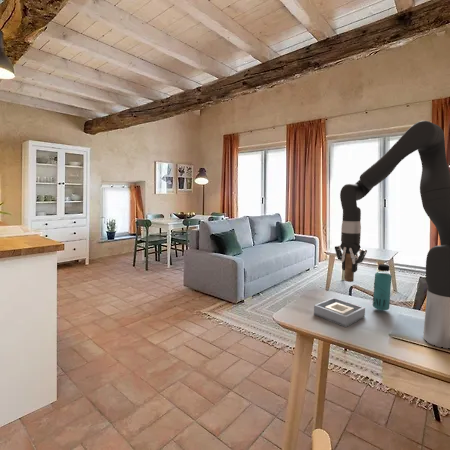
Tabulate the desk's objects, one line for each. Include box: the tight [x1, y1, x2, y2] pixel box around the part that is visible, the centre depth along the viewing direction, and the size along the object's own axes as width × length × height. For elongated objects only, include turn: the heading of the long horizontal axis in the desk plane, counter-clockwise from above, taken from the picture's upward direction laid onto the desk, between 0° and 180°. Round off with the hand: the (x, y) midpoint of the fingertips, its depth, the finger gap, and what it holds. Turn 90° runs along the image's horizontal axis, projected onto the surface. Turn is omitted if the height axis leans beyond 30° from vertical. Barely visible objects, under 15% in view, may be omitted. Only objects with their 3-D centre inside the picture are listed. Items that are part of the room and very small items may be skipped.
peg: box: [344, 253, 355, 283], centre depth 126 cm, size 4×4×12 cm
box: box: [313, 297, 366, 328], centre depth 119 cm, size 14×14×4 cm
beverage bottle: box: [372, 263, 393, 311], centre depth 123 cm, size 6×7×20 cm
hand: (349, 270), depth 127 cm, fingers closed on peg, 3 cm apart
